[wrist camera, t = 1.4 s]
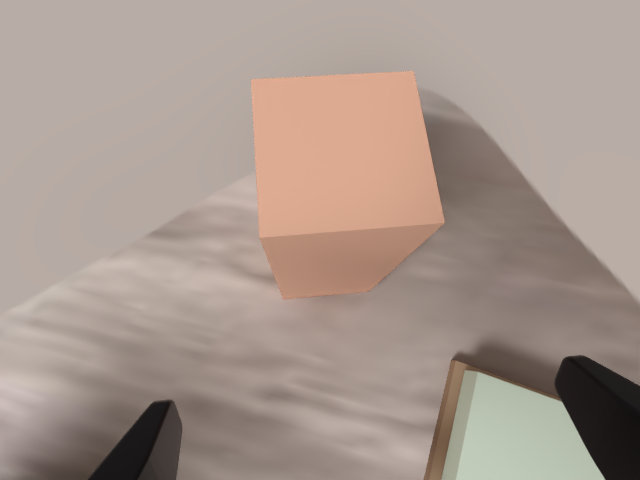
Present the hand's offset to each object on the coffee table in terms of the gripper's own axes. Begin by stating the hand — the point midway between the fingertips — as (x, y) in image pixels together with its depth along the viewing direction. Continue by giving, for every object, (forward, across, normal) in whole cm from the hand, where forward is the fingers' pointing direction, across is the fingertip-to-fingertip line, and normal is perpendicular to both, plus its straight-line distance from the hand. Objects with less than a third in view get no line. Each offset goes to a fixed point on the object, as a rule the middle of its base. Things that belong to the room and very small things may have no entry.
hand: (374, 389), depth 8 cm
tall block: (+13, 0, +4) cm, 14 cm away
